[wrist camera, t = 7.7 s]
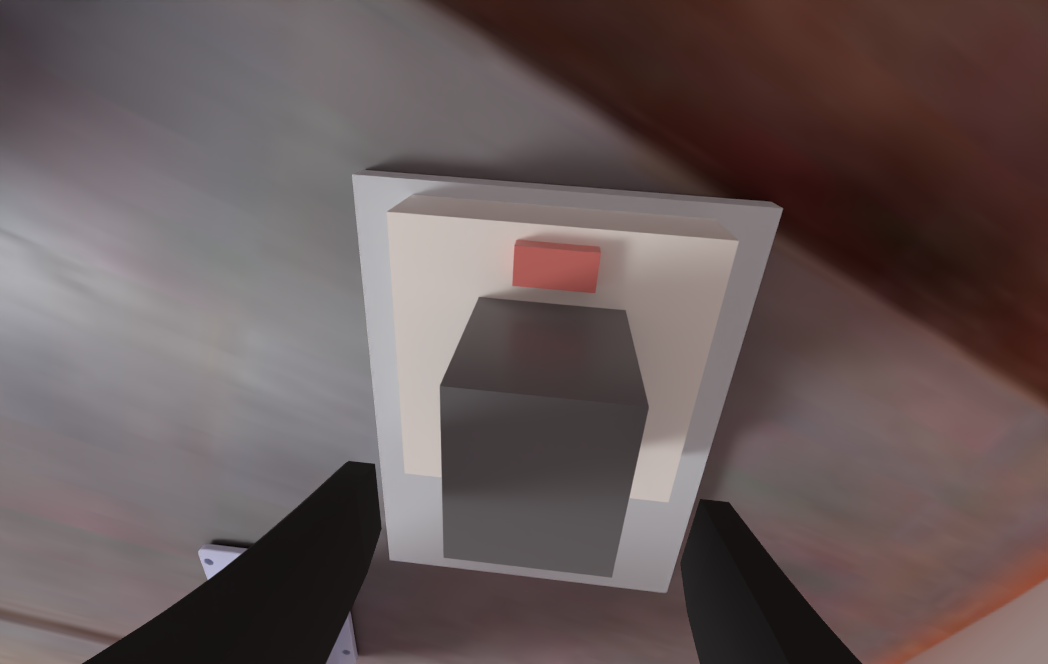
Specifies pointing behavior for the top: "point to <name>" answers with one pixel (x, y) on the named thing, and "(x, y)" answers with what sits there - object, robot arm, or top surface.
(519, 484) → the plug
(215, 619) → the robot arm
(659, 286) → the socket plate
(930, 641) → the top surface
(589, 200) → the socket mat
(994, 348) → the top surface
